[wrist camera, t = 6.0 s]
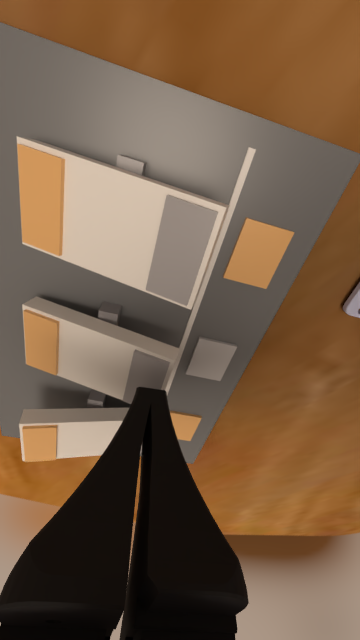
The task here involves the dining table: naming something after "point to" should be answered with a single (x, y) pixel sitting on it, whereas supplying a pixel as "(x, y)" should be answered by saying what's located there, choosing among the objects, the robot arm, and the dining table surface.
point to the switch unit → (176, 170)
